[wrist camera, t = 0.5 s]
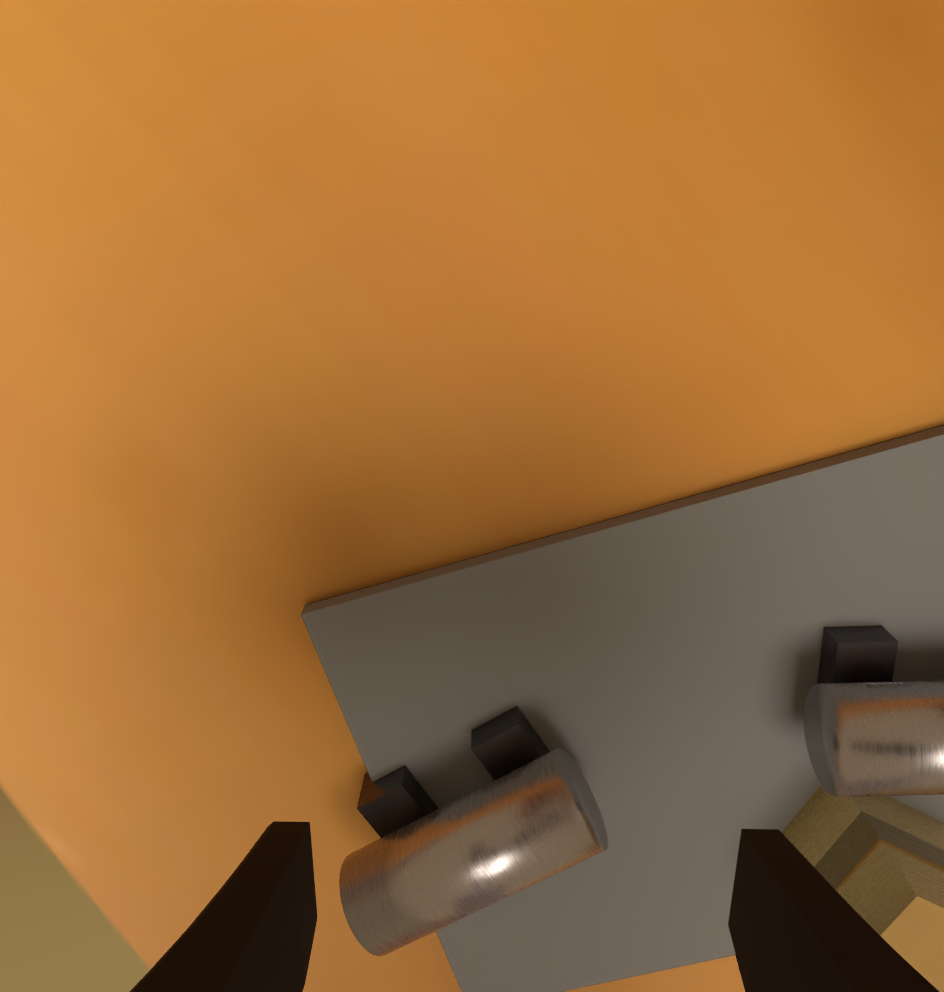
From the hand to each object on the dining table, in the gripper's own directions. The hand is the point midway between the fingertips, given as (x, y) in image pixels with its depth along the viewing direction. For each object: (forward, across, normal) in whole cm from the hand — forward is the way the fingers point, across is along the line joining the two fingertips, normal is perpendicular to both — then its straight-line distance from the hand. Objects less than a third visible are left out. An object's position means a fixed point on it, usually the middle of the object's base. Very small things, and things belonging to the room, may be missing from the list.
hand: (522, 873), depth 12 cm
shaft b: (+10, +1, +6) cm, 11 cm away
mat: (+10, -7, +4) cm, 13 cm away
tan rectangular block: (+9, -11, +8) cm, 16 cm away
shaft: (+10, -12, +2) cm, 15 cm away
